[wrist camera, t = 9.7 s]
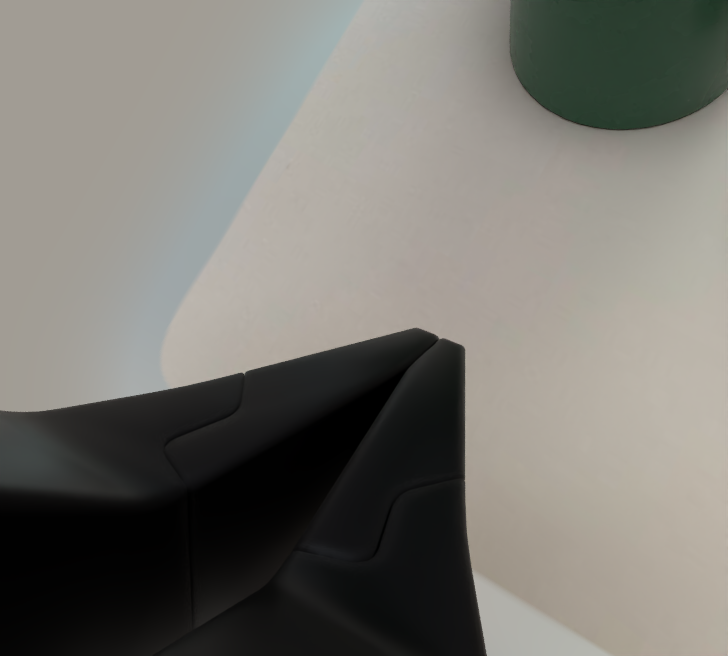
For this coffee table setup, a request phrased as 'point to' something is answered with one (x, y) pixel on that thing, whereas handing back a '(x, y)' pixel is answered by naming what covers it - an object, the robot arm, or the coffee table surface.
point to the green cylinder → (621, 58)
